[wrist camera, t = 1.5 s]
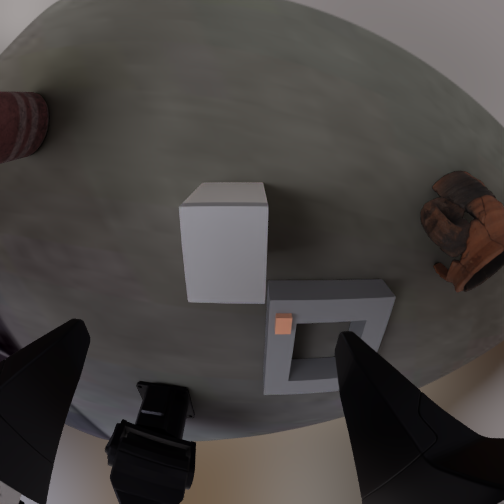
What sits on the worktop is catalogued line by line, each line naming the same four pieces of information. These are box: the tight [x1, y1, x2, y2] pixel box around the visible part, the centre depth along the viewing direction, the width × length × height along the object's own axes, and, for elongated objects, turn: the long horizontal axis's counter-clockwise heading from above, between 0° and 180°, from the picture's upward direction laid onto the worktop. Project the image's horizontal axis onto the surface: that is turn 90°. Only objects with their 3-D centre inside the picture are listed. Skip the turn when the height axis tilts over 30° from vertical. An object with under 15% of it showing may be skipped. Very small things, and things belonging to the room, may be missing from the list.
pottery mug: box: [421, 171, 504, 292], centre depth 19 cm, size 12×10×8 cm
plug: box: [179, 182, 268, 304], centre depth 18 cm, size 6×4×7 cm
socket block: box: [263, 279, 396, 395], centre depth 24 cm, size 12×10×4 cm
